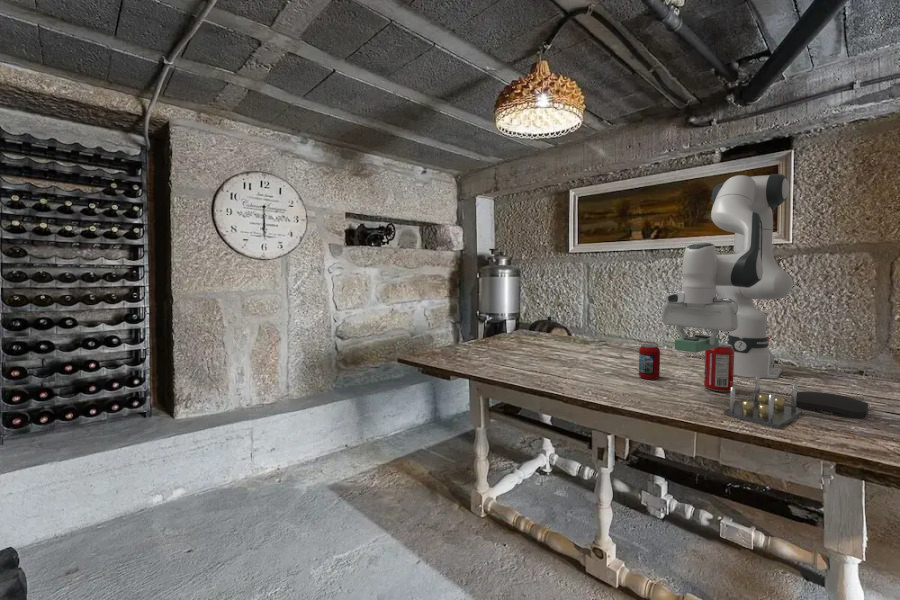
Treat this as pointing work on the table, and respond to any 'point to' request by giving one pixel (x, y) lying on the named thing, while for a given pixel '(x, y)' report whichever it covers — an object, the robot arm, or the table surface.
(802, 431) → the table surface
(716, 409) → the table surface
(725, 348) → the soda can
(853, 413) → the media streaming box
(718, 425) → the table surface
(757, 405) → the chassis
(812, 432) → the table surface
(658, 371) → the beverage can
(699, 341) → the board
